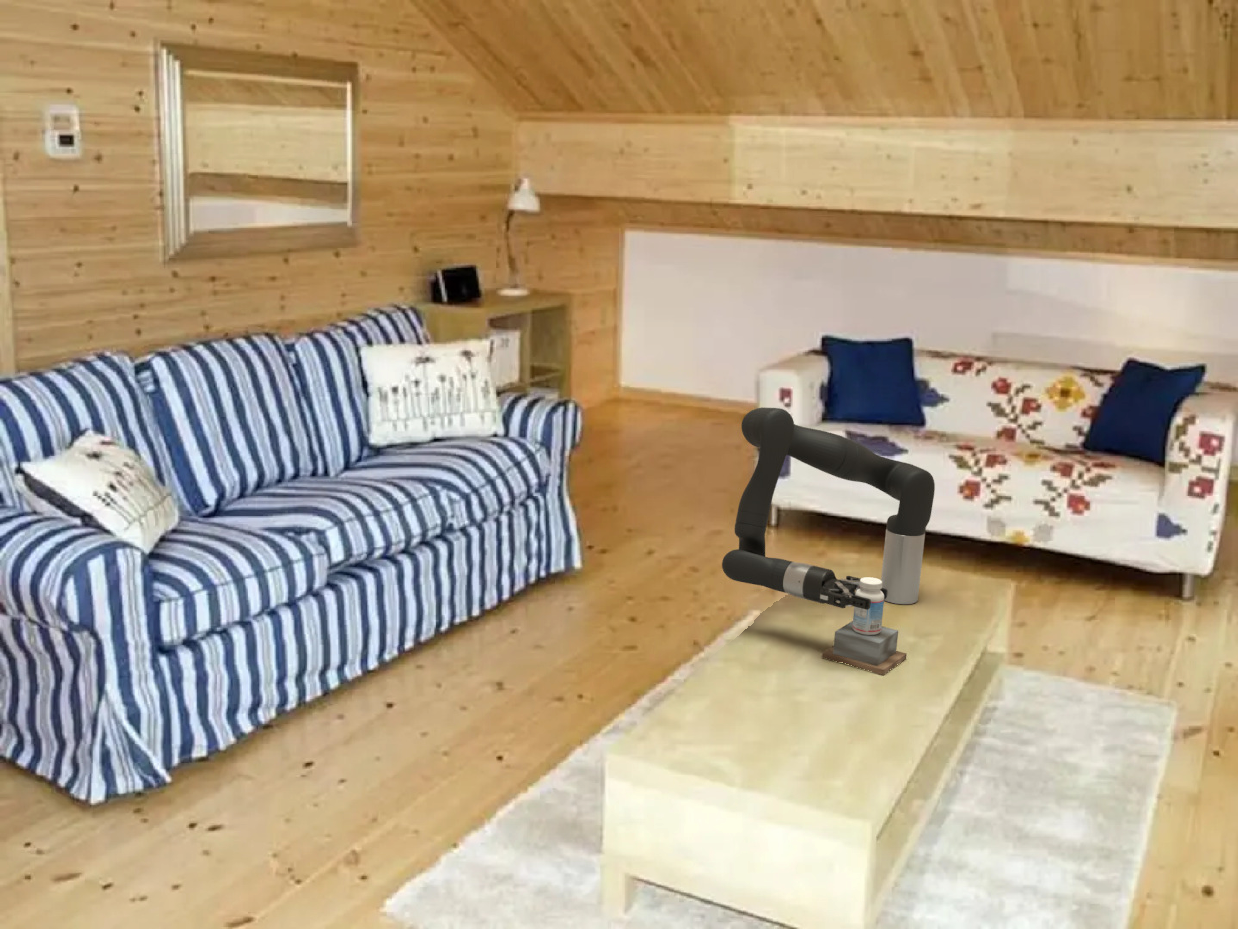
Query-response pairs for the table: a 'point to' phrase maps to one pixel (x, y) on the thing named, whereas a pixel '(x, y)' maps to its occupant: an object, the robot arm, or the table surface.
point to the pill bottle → (871, 618)
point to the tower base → (866, 649)
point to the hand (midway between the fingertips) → (878, 599)
